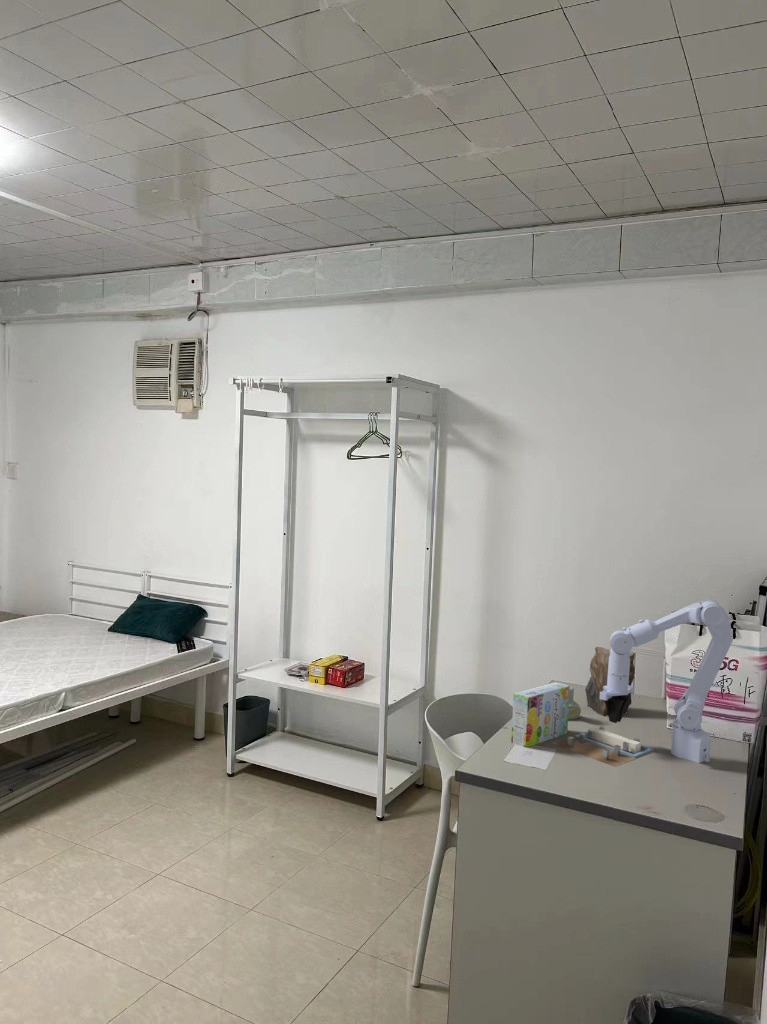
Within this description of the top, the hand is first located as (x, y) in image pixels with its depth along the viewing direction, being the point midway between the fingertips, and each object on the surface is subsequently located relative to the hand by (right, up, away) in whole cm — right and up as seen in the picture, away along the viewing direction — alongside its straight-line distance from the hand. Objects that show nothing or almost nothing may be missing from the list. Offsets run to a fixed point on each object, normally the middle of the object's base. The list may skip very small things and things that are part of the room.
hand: (614, 721), depth 213 cm
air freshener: (-9, -6, +25) cm, 27 cm away
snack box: (-21, -6, +2) cm, 22 cm away
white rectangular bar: (0, -6, 0) cm, 6 cm away
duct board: (-4, -7, -3) cm, 9 cm away
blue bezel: (0, -6, 0) cm, 6 cm away
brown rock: (+8, -7, +36) cm, 37 cm away
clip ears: (-4, -7, -3) cm, 9 cm away
